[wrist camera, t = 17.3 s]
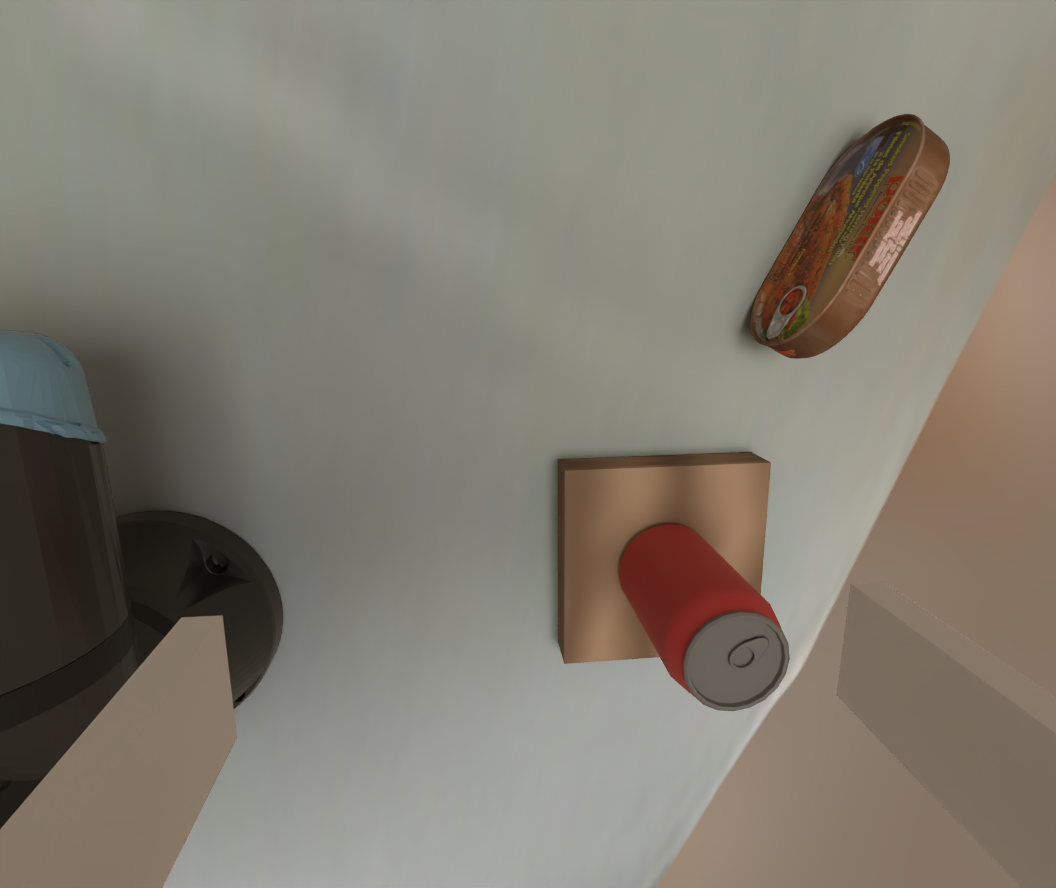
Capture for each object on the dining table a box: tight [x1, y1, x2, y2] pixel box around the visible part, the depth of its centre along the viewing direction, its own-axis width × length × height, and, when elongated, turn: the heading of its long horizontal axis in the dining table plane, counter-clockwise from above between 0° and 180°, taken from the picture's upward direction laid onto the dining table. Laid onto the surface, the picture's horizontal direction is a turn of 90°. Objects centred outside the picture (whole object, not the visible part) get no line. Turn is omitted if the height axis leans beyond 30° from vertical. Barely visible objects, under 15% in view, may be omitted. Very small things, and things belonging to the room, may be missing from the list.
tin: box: [750, 114, 950, 358], centre depth 39 cm, size 15×3×8 cm, turn 152°
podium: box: [558, 452, 771, 664], centre depth 45 cm, size 14×14×3 cm
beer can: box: [619, 524, 790, 711], centre depth 38 cm, size 7×7×12 cm
